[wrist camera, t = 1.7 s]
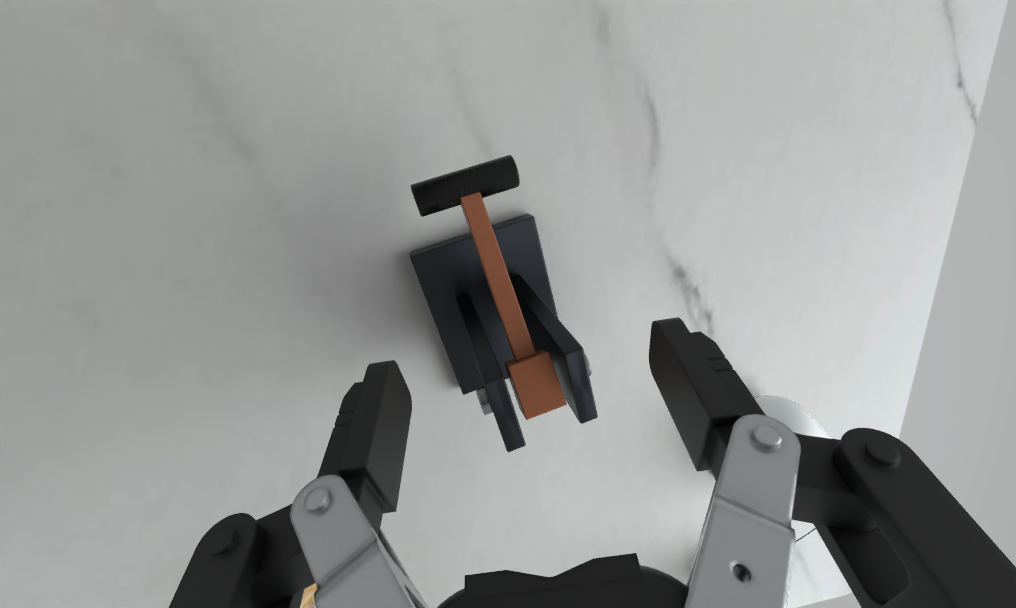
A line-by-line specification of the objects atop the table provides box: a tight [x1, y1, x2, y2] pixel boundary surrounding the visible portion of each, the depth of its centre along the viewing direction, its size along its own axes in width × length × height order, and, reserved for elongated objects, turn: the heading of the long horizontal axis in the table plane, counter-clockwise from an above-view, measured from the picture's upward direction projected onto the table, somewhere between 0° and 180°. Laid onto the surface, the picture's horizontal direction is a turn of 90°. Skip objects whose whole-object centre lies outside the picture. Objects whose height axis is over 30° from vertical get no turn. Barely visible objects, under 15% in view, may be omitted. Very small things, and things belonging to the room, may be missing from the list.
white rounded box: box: [710, 396, 832, 471], centre depth 41 cm, size 12×9×12 cm
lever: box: [411, 155, 567, 420], centre depth 21 cm, size 13×6×2 cm, turn 16°
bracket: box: [410, 214, 598, 452], centre depth 25 cm, size 12×9×13 cm
